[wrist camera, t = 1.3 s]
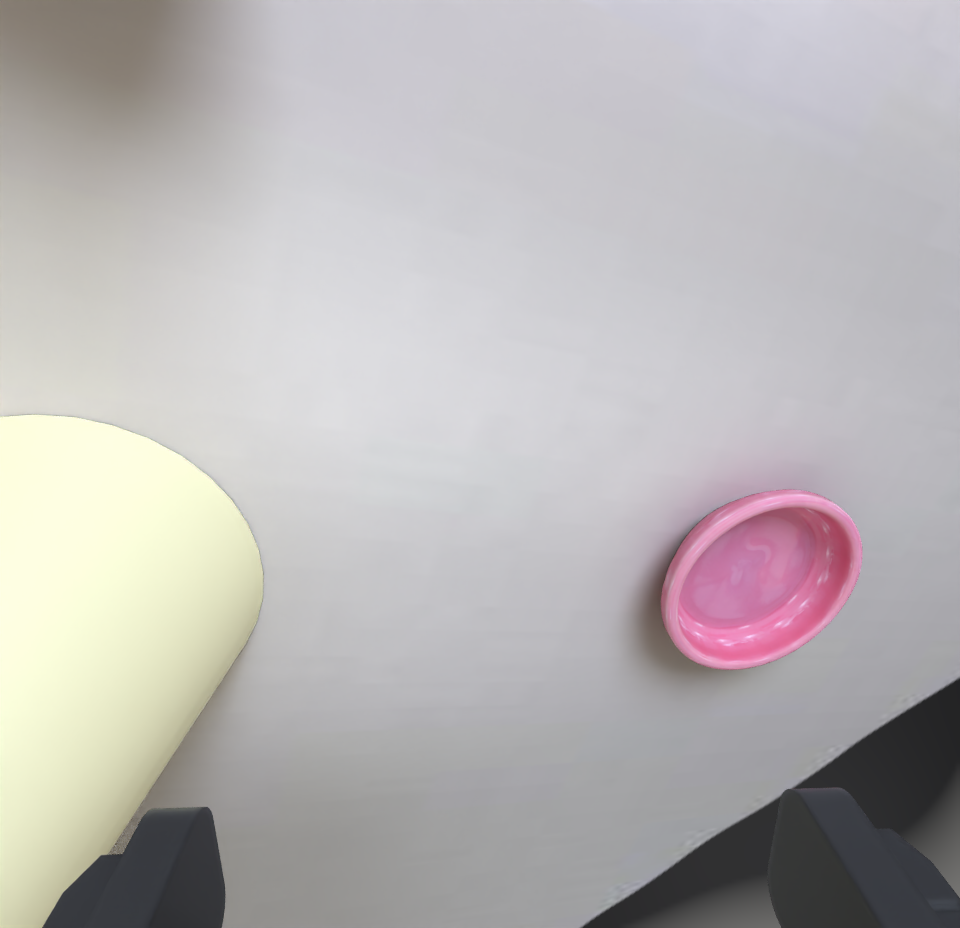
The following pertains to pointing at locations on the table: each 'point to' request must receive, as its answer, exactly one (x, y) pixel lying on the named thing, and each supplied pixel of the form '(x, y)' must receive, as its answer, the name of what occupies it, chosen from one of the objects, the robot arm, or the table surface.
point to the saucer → (760, 578)
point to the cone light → (103, 637)
